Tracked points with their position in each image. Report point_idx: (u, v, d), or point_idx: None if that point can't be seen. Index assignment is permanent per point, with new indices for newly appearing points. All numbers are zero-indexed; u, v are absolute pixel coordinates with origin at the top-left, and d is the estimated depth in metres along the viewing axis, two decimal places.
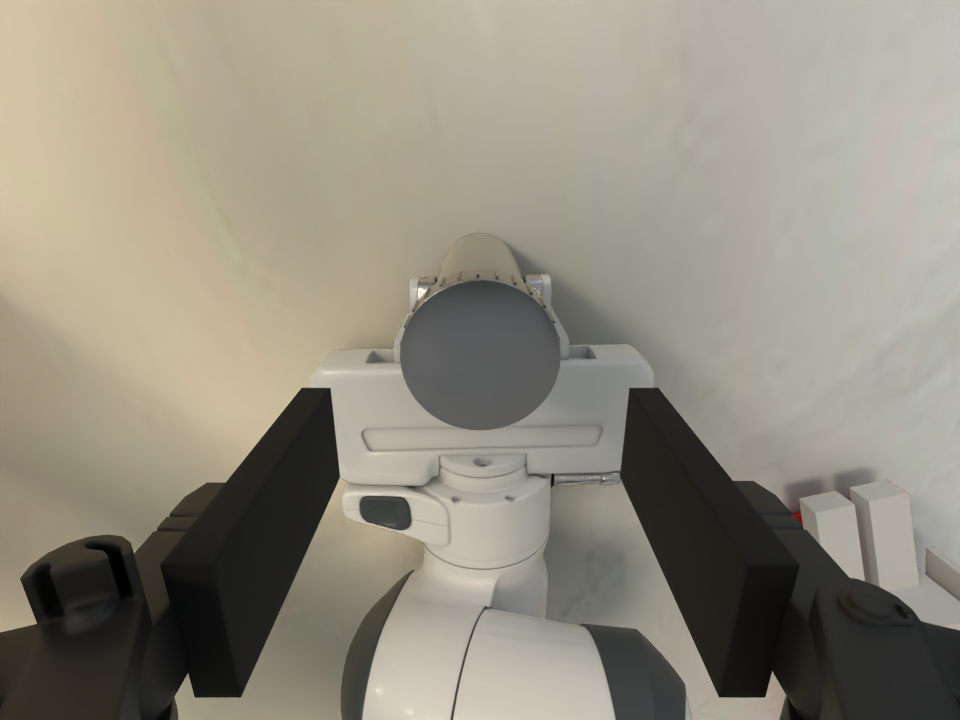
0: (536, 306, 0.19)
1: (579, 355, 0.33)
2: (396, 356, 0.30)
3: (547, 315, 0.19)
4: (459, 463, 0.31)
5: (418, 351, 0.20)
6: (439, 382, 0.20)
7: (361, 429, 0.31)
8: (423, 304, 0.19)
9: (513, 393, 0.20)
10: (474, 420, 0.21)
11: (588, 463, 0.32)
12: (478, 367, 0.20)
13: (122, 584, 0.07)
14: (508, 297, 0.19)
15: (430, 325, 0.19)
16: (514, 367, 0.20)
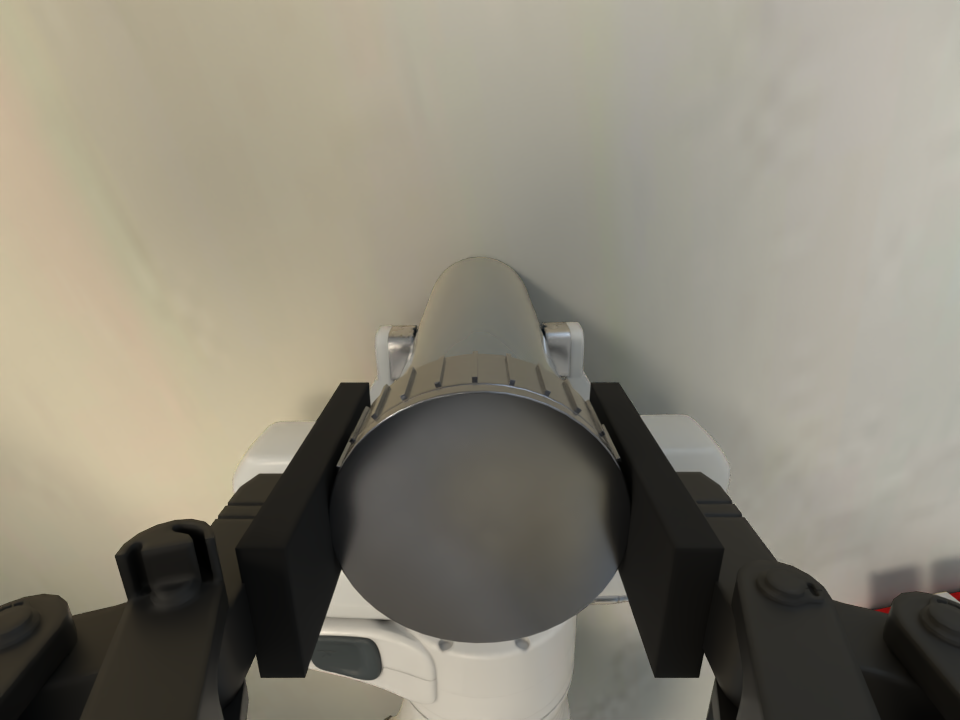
0: (588, 439, 0.10)
1: None
2: None
3: (609, 455, 0.10)
4: None
5: (362, 517, 0.10)
6: (403, 568, 0.11)
7: None
8: (368, 436, 0.10)
9: (540, 585, 0.11)
10: (469, 628, 0.11)
11: None
12: (476, 544, 0.11)
13: (203, 567, 0.08)
14: (534, 423, 0.10)
15: (383, 474, 0.10)
16: (543, 543, 0.11)
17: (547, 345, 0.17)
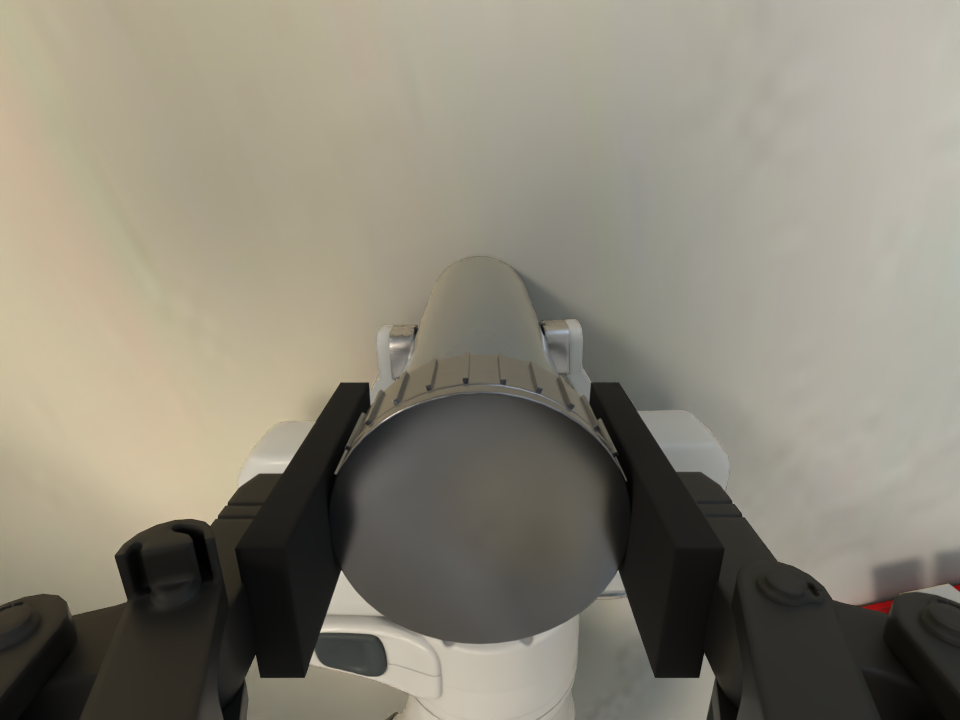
0: (336, 533, 0.10)
1: None
2: None
3: (330, 511, 0.10)
4: None
5: (549, 602, 0.11)
6: (568, 547, 0.11)
7: None
8: (482, 643, 0.11)
9: (482, 447, 0.10)
10: (582, 456, 0.10)
11: None
12: (494, 523, 0.10)
13: (203, 567, 0.08)
14: (365, 572, 0.11)
15: (500, 615, 0.11)
16: (443, 482, 0.10)
17: (546, 342, 0.18)
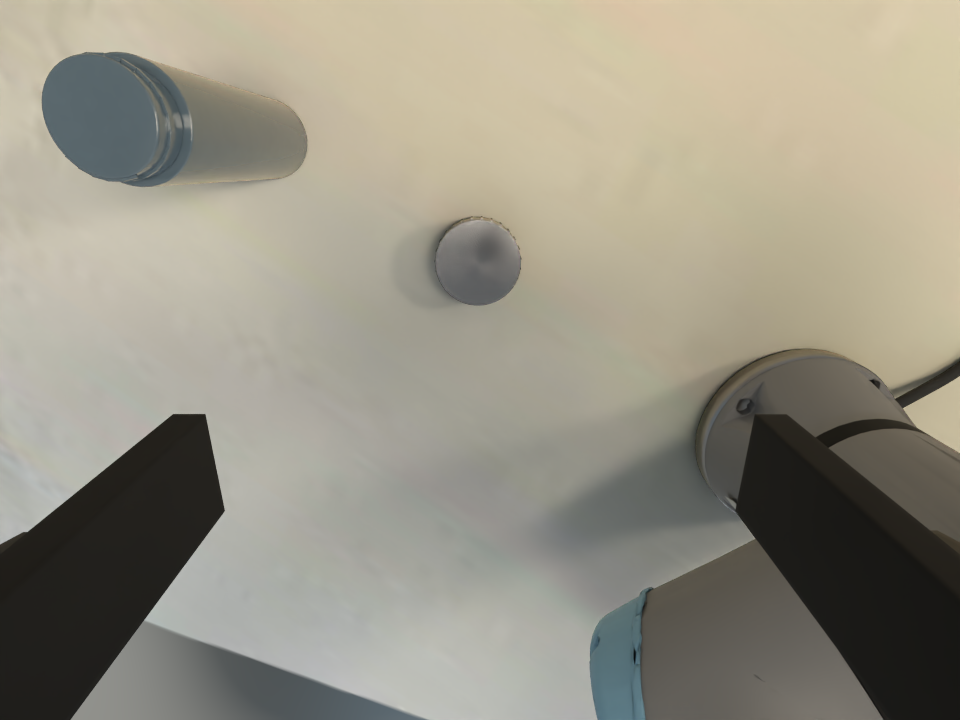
0: (507, 290, 0.38)
1: None
2: None
3: (503, 296, 0.38)
4: None
5: (480, 230, 0.36)
6: (463, 242, 0.36)
7: None
8: (506, 232, 0.36)
9: (459, 282, 0.37)
10: (441, 262, 0.37)
11: None
12: (473, 263, 0.37)
13: None
14: (512, 276, 0.37)
15: (495, 236, 0.36)
16: (474, 282, 0.37)
17: None
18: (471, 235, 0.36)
